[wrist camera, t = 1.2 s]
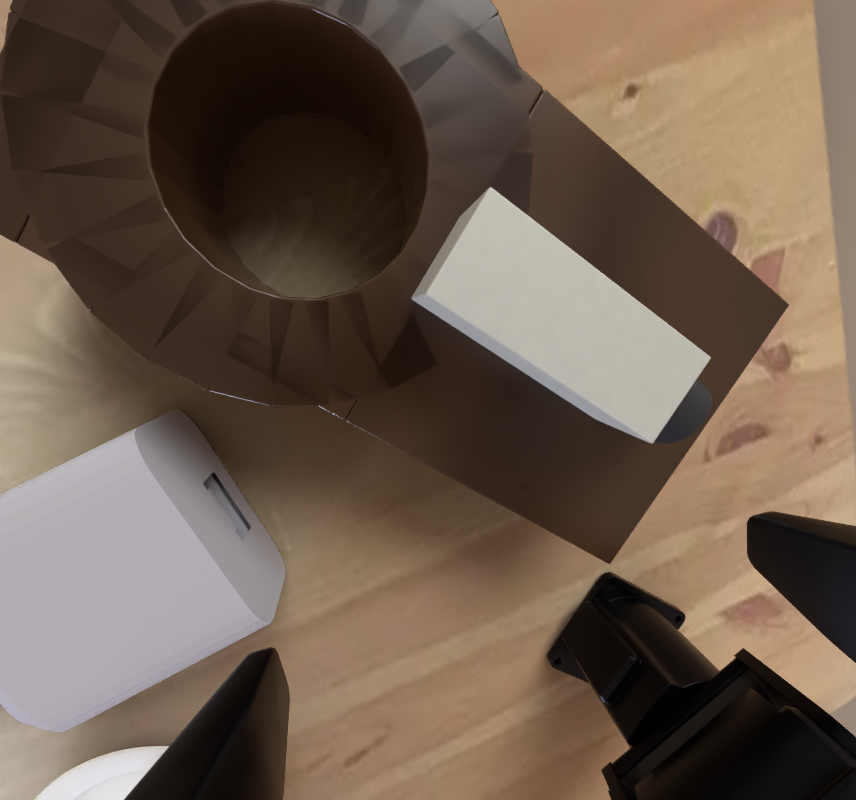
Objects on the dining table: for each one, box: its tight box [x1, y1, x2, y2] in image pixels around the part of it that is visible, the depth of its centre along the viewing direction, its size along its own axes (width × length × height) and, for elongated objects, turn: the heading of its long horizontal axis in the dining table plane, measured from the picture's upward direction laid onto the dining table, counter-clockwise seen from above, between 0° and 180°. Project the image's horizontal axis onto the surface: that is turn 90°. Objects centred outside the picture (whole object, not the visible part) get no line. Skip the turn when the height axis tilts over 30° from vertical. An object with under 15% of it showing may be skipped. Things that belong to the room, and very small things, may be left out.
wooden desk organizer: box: [0, 0, 789, 564], centre depth 16 cm, size 24×14×6 cm, turn 58°
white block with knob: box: [411, 187, 712, 444], centre depth 13 cm, size 9×3×3 cm, turn 58°
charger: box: [0, 409, 286, 733], centre depth 17 cm, size 5×9×15 cm
